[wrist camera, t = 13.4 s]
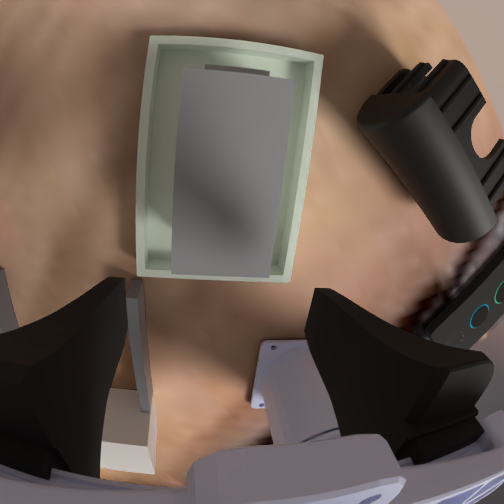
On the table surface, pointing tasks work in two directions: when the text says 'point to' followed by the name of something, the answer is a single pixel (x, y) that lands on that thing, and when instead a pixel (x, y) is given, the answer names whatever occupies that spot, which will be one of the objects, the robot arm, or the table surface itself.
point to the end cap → (437, 146)
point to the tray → (165, 135)
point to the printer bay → (119, 392)
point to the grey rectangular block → (229, 170)
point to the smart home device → (472, 309)
